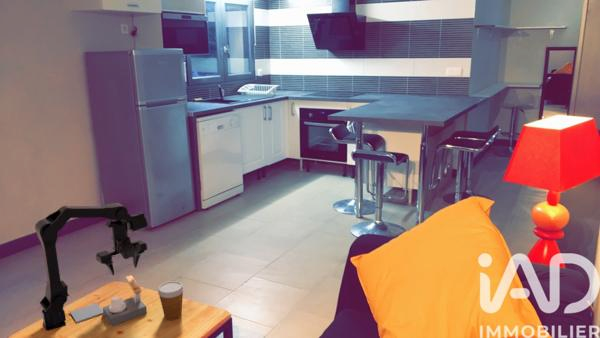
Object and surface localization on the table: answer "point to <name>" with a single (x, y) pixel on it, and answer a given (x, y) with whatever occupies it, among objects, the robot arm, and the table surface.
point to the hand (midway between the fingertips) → (124, 271)
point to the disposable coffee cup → (171, 299)
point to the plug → (117, 305)
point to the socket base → (126, 310)
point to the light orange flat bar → (133, 284)
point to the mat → (86, 312)
